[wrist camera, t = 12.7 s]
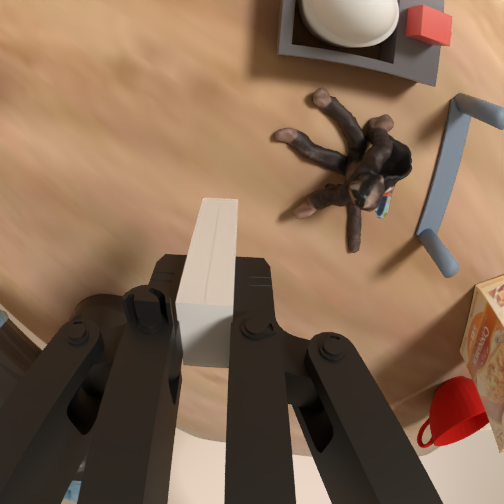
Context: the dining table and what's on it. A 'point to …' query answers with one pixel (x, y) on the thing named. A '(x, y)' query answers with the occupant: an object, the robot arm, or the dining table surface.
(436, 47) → the dome base
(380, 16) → the dome
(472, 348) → the coffeecake box
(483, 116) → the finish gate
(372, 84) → the dining table surface
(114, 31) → the dining table surface
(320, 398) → the robot arm
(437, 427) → the ceramic cup
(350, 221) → the stuffed animal
